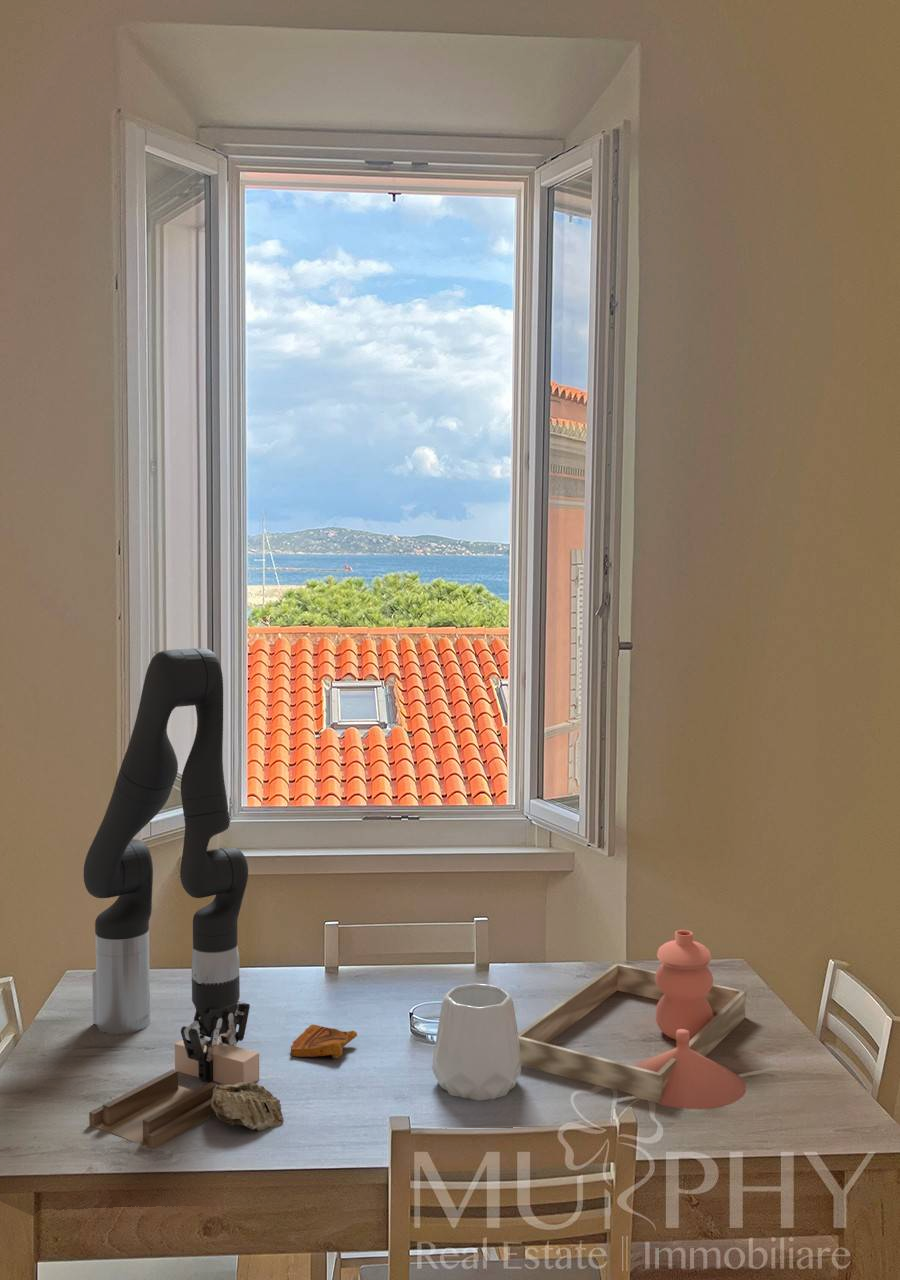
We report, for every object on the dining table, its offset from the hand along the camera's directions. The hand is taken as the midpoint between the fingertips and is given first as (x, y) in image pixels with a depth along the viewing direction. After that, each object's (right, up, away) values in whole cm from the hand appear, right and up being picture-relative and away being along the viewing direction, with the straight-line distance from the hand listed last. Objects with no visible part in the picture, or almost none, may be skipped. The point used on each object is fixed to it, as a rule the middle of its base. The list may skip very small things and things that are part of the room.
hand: (216, 1075), depth 193 cm
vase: (+42, -1, -3) cm, 42 cm away
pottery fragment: (+21, +1, +9) cm, 23 cm away
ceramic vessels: (+76, -1, +6) cm, 77 cm away
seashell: (+8, -1, -21) cm, 22 cm away
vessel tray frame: (+70, +1, +15) cm, 71 cm away
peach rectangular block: (0, 0, 0) cm, 0 cm away
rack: (-5, -2, -14) cm, 15 cm away
